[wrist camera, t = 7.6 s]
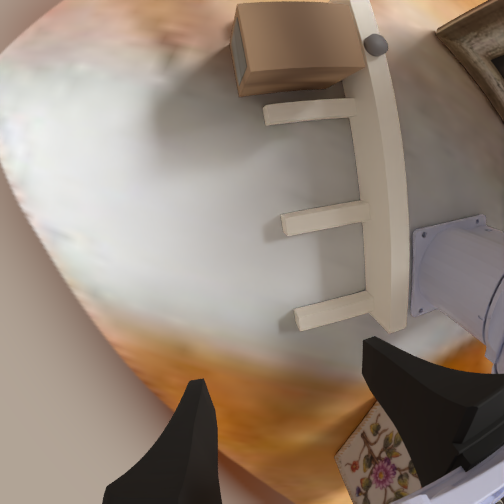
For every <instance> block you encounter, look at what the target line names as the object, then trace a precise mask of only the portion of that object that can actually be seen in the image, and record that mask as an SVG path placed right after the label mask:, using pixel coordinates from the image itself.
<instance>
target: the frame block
mask: <svg viewBox="0 0 504 504" xmlns="http://www.w3.org/2000/svg"><path fill="white" fill-rule="evenodd" d="M230 50H231V55H232V61H233V66H234V72H235V77H236V83H237V88H238V94H239V97H244V96H251V95H259V94H268V93H277V92H288V91H301V90H318V89H327V88H329V87H330V86H332V85H334V84H336V83H338V82H339V81H341V80H343V79H345V78H347V77H348V76H350V75H352V74H354V73H356V72H358V71H360V70H362V69H363V68H365V63H364V59H363V55H362V51H361V47H360V43H359V39H358V35H357V32H356V28H355V24H354V21H353V17H352V14H351V11H350V8H349V5H348V4H337V3H323V2H257V3H243V4H237V8H236V13H235V18H234V23H233V28H232V33H231V39H230Z"/></svg>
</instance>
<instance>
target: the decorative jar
mask: <svg viewBox="0 0 504 504" xmlns="http://www.w3.org/2000/svg"><path fill="white" fill-rule="evenodd" d="M334 458H335V461H336V463H337V466H338V468H339V471H340V473H341V476H342V478H343V481H344V483H345V486H346V488H347V490H348V493H349V495H350V497H351V500H352V502H353V504H390V503H392V502H394V501H396V500H399V499H401V498H403V497H405V496H407V495H409V494H411V493H413V492H415V491H417V490H419V489H421V488H422V487H421V484H420V481H419V478H418V475H417V473H416V470H415V468H414V465H413V463H412V460H411V458H410V456H409V454H408V451H407V449H406V447H405V445H404V443H403V441H402V439H401V437H400V435H399V433H398V431H397V429H396V427H395V426H394V424H393V422H392V421H391V420H390V418H389V417H388V415H387V414H386V412H385V411H384V409H383V408H382V407H381V405H380V404H379V402H378V401H376V403H375V404H374V405H373V407H372V408H371V409H370V411H369V412H368V414H367V415H366V417H365V418H364V419H363V420H362V422H361V423H360V425H359V426H358V427H357V429H356V430H355V431H354V432H353V433H352V435H351V436H350V437H349V438H348V440H347V441H346V442H345V444H344V445H343V446H342V447H341V449H340V450H339V451H338V452H337V453H336V455H335V457H334Z"/></svg>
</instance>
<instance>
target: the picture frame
mask: <svg viewBox="0 0 504 504" xmlns="http://www.w3.org/2000/svg"><path fill="white" fill-rule="evenodd" d="M436 36H437V37H438V38H439V39H440V40H441V41H442V42H443V43H444V44H445V45H446V47H447V48H448V49H449V50H450V51H451V52H452V53H453V54H454V56H455V57H456V58H457V59H458V60H459V61H460V63H461V64H462V65H463V66H464V67H465V69H466V70H467V71H468V72H469V74H470V75H471V76H472V77H473V79H474V80H475V81H476V82H477V84H478V85H479V86H480V88H481V89H482V90H483V92H484V93H485V95H486V96H487V97H488V99H489V100H490V102H491V103H492V105H493V106H494V108H495V109H496V111H497V112H498V114H499V115H500V117H501V118H502V120H503V121H504V0H488V1H486V2H484V3H482V4H480V5H478V6H477V7H475V8H473V9H471V10H469V11H467V12H466V13H464V14H462V15H460V16H458V17H457V18H455V19H453V20H451V21H450V22H448V23H446V24H445V25H443V26H441V27H440V28H438V29H437V32H436Z"/></svg>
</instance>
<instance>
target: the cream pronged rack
mask: <svg viewBox="0 0 504 504" xmlns="http://www.w3.org/2000/svg"><path fill="white" fill-rule="evenodd" d="M328 3H337V4H348V5H349V8H350V11H351V14H352V17H353V21H354V24H355V28H356V32H357V35H358V39H359V43H360V47H361V51H362V55H363V59H364V63H365V68H363V69H362V70H360V71H358V72H356V73H354V74H352V75H350V76H348V77H347V78H345V79H343V80H342V83H343V88H344V93H345V98H342V99H323V100H309V101H297V102H287V103H277V104H269V105H266V106H265V107H264V108H263V114H264V120H265V125H266V126H269V125H276V124H284V123H293V122H302V121H312V120H323V119H335V118H349V120H350V126H351V132H352V138H353V145H354V152H355V159H356V167H357V175H358V184H359V193H360V200H359V201H353V202H347V203H341V204H336V205H330V206H324V207H319V208H313V209H307V210H302V211H297V212H291V213H286V214H280V215H281V221H282V228H283V232H284V233H285V234H286V235H287V236H293V235H298V234H303V233H308V232H313V231H318V230H323V229H328V228H333V227H338V226H343V225H348V224H353V223H359V222H362V226H363V240H364V258H365V285H366V291H362V292H358V293H355V294H351V295H347V296H343V297H340V298H336V299H332V300H328V301H324V302H320V303H316V304H312V305H308V306H304V307H300V308H295V309H294V314H295V322H296V324H297V326H298V328H299V330H300V331H304V330H308V329H312V328H316V327H320V326H324V325H327V324H331V323H335V322H338V321H342V320H345V319H349V318H352V317H356V316H359V315H363V314H366V313H369V314H370V315H371V316H372V317H373V318H374V319H375V320H376V321H377V322H378V323H379V324H380V325H381V326H382V327H383V328H384V329H385V330H386V331H387V332H388V333H389V334H391V333H394V332H397V331H399V330H402V329H405V328H406V324H407V311H408V293H409V212H408V195H407V182H406V171H405V161H404V152H403V144H402V137H401V130H400V123H399V117H398V111H397V105H396V100H395V95H394V90H393V85H392V80H391V76H390V71H389V67H388V63H387V59H386V55H385V53H386V52H387V51H388V44H387V42H386V40H385V39H384V38H383V37H382V36H381V35H380V32H379V29H378V26H377V22H376V19H375V16H374V13H373V10H372V7H371V4H370V1H369V0H330V1H329V2H328Z"/></svg>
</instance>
